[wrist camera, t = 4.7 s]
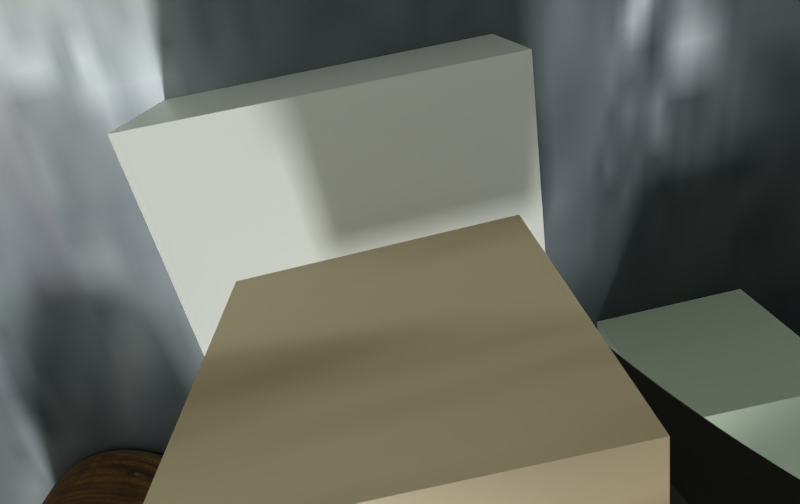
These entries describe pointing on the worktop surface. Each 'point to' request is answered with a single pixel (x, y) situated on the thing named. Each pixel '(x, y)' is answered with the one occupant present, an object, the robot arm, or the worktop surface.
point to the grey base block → (333, 164)
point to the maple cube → (414, 387)
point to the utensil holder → (107, 479)
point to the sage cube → (722, 367)
